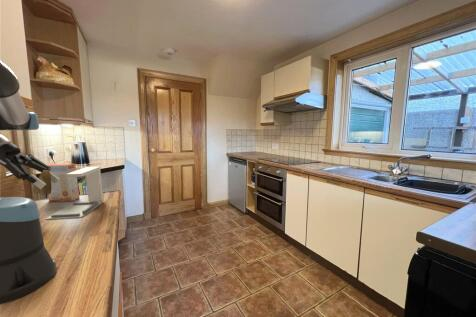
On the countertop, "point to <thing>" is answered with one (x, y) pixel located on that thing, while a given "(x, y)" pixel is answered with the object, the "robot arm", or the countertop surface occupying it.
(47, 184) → the rock
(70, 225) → the countertop surface
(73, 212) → the shelf unit
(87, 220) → the countertop surface
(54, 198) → the cracker box
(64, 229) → the countertop surface
